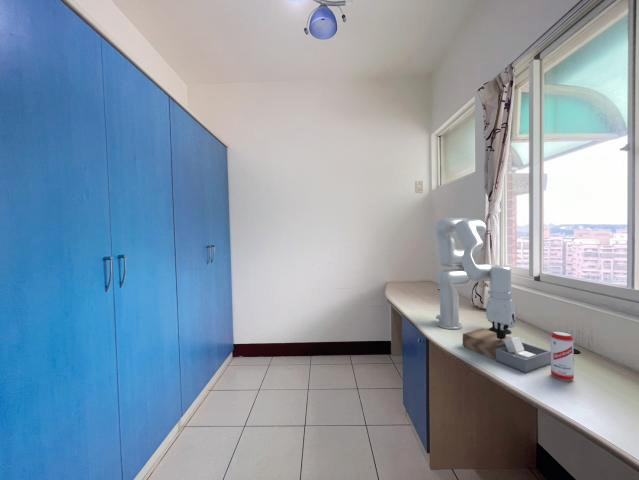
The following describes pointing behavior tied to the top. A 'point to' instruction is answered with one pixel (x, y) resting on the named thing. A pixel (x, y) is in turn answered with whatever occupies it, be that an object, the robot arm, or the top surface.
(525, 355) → the tile front
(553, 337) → the beer can
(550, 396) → the top surface
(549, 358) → the tray
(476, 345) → the wooden plinth
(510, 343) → the tile rear
